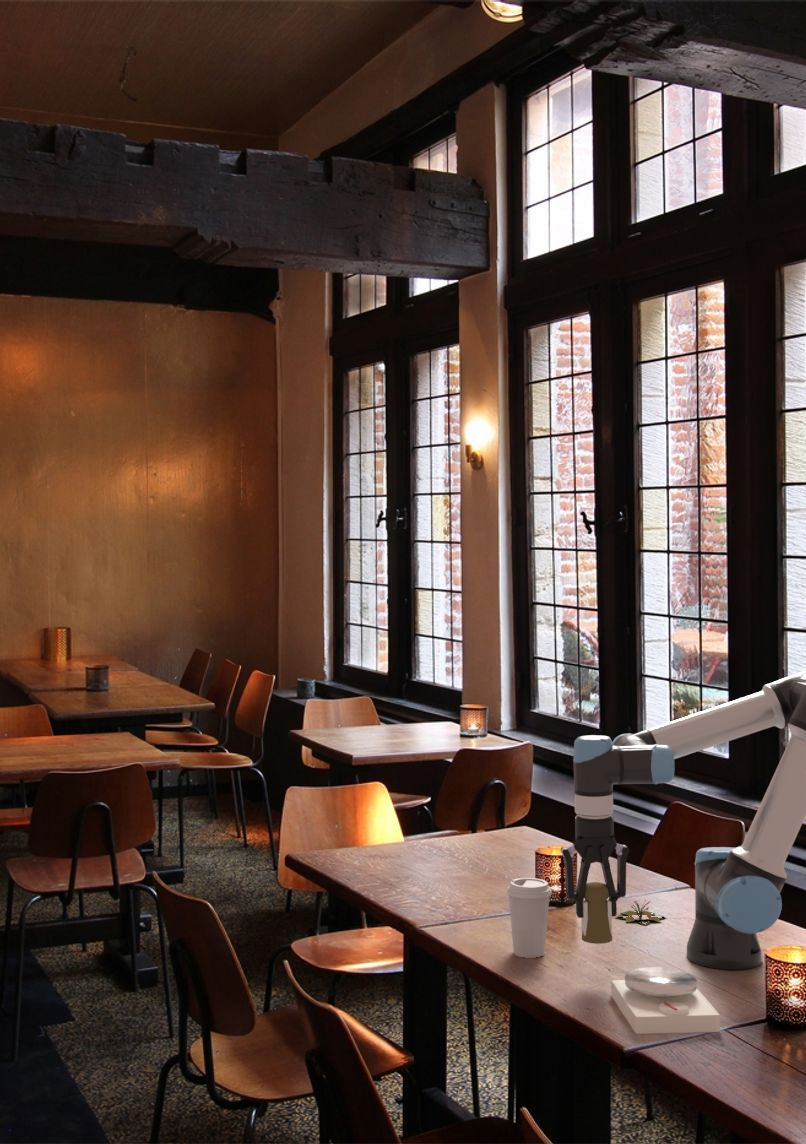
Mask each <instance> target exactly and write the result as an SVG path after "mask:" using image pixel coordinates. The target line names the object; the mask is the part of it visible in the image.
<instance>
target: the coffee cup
mask: <svg viewBox="0 0 806 1144" xmlns="http://www.w3.org/2000/svg"><path fill="white" fill-rule="evenodd" d="M505 893H506V895H508V901H509V915H510V925H511V935H512V936H511V937H512V938H511V939H512V949H513V955H514V956H516V957H519V958H523V957H525V958H524V959H537V958H536V957H538V958H541V957H540V956H542V957H543V956H544V955H545V951H546V950H545V949H546V940H547V929H548V928H547V926H548V918H549V917H548V915H549V905H550V896H551V895H552V893H553V892H552V889H551V887H550V886H549V883H548V881H547V880H545V879H542V878H541V879H540V878H535V877H520V878H514V879H512V880H511V881H510V882H509V885H508V886H507V888H506V892H505Z"/></svg>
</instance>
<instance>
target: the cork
mask: <svg viewBox="0 0 806 1144" xmlns="http://www.w3.org/2000/svg"><path fill="white" fill-rule="evenodd" d="M608 898H609V889H608V887H607V885H606V883H605V882H604V883H603V882H597V881H591V882H587V884H586V889H585V895H584V899H585V900H586V901H587V904H588V922H587V930H586V936H584V933H583V931H582V930H581V941H583V942H585V943H588V944H598V945H599V944H600V945H601V944H607V943H610V942H612V941H613V934H612V935H611V932H610V926H609V920H608V911H607V899H608Z"/></svg>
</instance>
